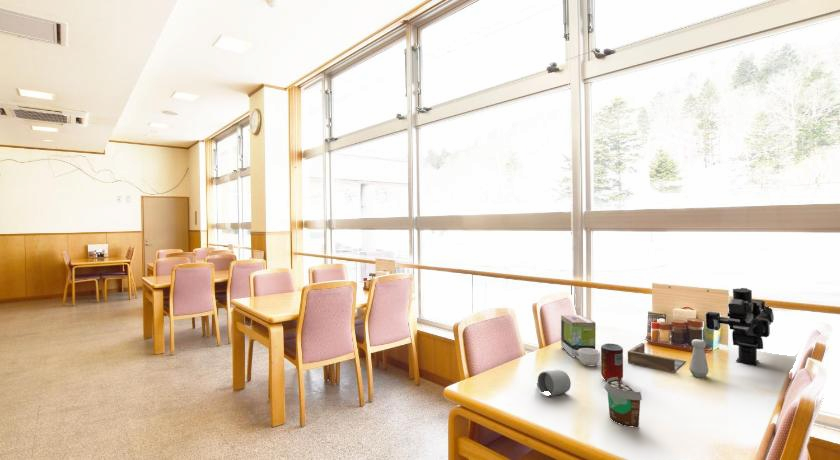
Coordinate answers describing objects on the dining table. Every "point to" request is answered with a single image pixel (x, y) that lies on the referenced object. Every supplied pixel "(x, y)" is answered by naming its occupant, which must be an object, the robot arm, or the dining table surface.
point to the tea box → (577, 333)
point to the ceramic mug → (554, 382)
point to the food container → (623, 403)
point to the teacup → (588, 356)
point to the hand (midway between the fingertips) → (730, 331)
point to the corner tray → (652, 359)
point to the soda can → (612, 361)
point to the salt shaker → (698, 359)
